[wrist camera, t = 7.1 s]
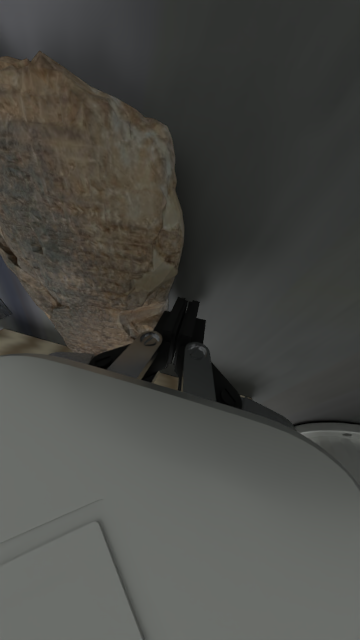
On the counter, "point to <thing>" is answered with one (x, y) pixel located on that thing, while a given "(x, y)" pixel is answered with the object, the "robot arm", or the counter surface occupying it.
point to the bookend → (3, 310)
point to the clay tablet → (86, 205)
